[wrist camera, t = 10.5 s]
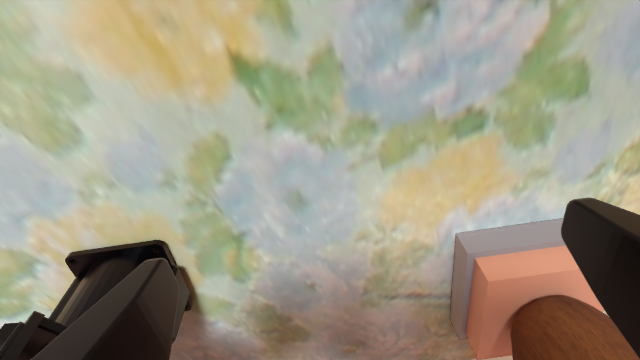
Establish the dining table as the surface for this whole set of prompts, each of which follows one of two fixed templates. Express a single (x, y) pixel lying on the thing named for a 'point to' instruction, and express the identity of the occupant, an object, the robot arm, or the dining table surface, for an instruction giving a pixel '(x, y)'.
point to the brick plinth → (491, 247)
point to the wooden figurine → (566, 332)
